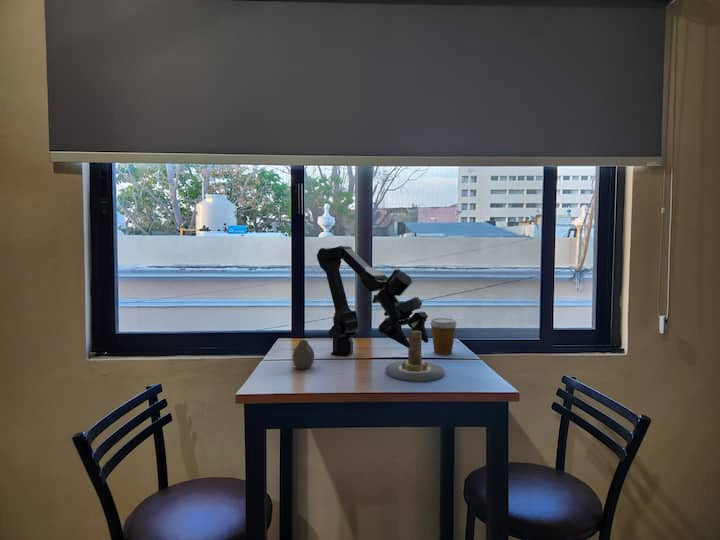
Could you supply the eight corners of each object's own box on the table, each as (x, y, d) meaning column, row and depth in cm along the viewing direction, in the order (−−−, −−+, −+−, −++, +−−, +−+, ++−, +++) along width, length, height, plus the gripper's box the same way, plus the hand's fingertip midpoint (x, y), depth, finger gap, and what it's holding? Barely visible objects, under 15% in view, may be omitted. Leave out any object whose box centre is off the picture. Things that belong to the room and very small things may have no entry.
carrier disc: (378, 377, 137) (378, 373, 137) (394, 362, 154) (394, 358, 154) (438, 384, 131) (438, 379, 131) (448, 367, 148) (448, 363, 148)
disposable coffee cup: (445, 357, 161) (445, 323, 160) (424, 352, 168) (424, 320, 167) (461, 353, 167) (462, 320, 166) (440, 348, 174) (441, 317, 173)
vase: (317, 365, 150) (317, 339, 149) (308, 371, 143) (308, 344, 143) (298, 363, 152) (298, 337, 151) (288, 369, 146) (288, 342, 145)
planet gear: (405, 372, 138) (406, 334, 137) (398, 365, 146) (399, 329, 145) (431, 371, 139) (431, 333, 138) (422, 364, 147) (423, 328, 146)
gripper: (385, 291, 137) (414, 333, 130) (423, 286, 150) (451, 324, 143) (366, 314, 143) (393, 355, 136) (404, 308, 156) (430, 345, 149)
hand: (418, 344), depth 141 cm, fingers open, 9 cm apart
